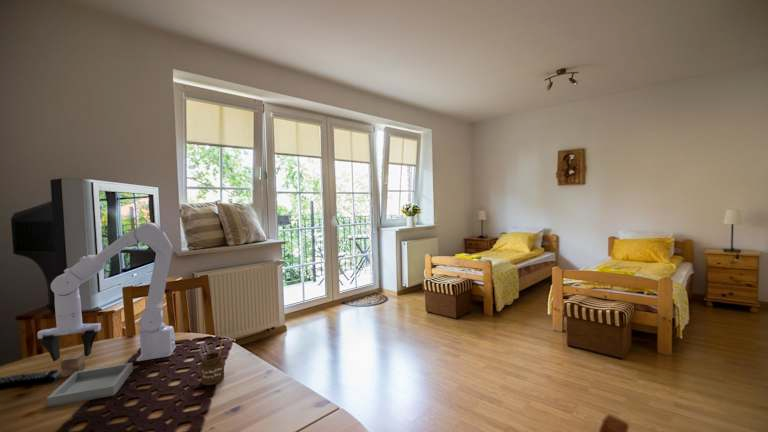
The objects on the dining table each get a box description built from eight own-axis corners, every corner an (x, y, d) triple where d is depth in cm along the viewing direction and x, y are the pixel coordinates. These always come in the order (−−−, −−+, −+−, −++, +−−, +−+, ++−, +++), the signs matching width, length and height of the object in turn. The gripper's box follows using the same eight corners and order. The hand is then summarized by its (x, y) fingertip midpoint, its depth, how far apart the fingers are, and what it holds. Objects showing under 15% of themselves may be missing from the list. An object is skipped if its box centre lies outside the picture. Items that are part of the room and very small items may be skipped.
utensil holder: (201, 378, 98) (198, 337, 97) (225, 372, 101) (222, 332, 100) (200, 388, 93) (198, 345, 92) (226, 381, 96) (223, 340, 95)
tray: (133, 370, 104) (132, 362, 104) (114, 395, 91) (113, 386, 90) (76, 380, 99) (75, 371, 99) (47, 407, 86) (46, 398, 86)
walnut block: (85, 368, 106) (83, 352, 106) (78, 374, 102) (77, 358, 102) (69, 370, 105) (67, 354, 105) (62, 377, 101) (60, 360, 101)
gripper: (29, 321, 96) (33, 367, 97) (92, 314, 101) (95, 358, 102) (44, 313, 103) (47, 357, 104) (102, 307, 108) (105, 348, 109)
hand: (72, 357), depth 103 cm, fingers open, 7 cm apart
